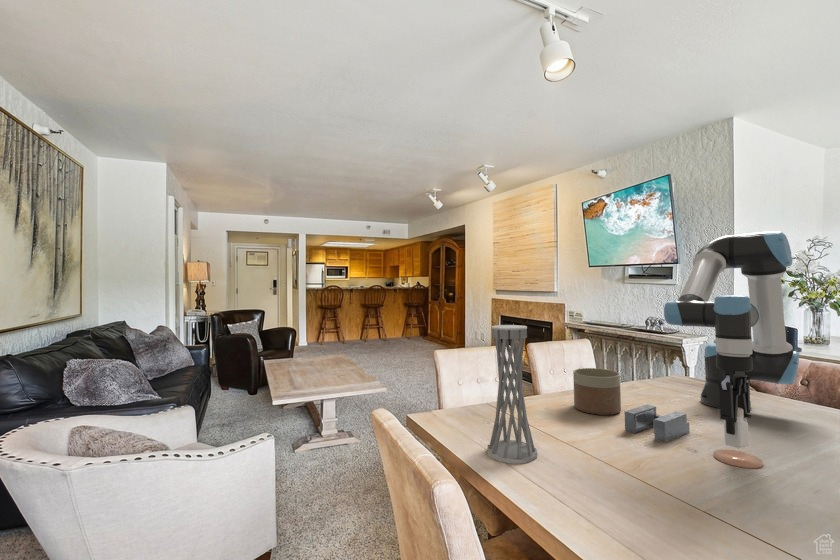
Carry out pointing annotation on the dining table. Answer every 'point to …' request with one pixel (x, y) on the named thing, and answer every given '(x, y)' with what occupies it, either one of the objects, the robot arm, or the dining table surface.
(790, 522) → the dining table surface
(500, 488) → the dining table surface
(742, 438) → the pepper shaker
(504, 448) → the grey tall lattice tower
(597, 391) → the planter
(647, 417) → the vise
